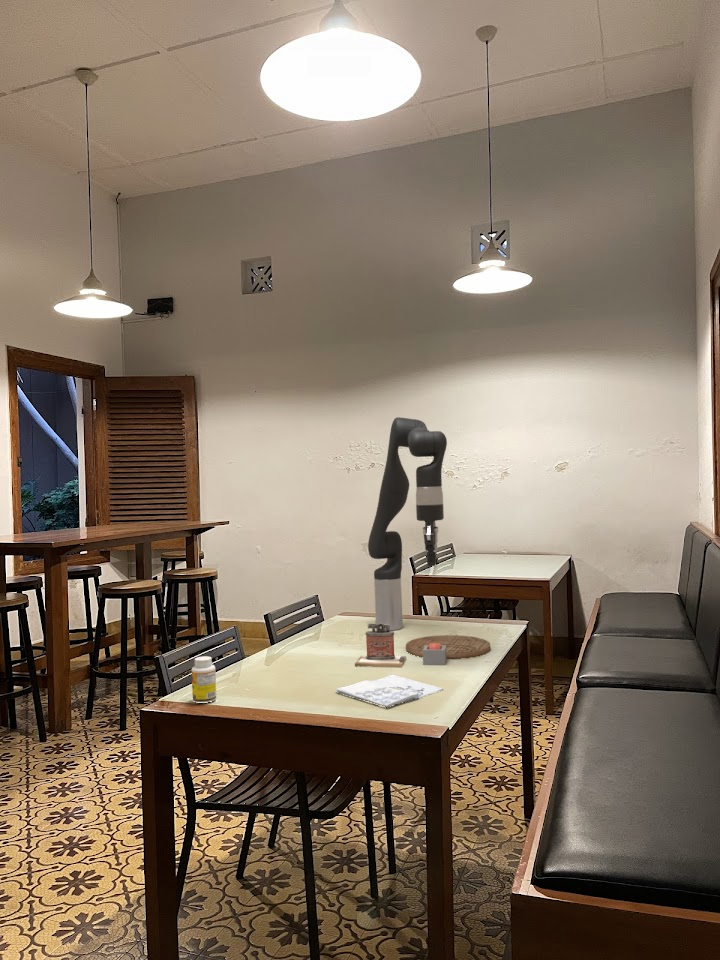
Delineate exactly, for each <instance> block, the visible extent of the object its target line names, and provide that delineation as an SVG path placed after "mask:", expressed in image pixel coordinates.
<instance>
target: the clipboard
mask: <svg viewBox="0 0 720 960" xmlns="http://www.w3.org/2000/svg"><path fill="white" fill-rule="evenodd" d="M366 656H367V655H360V656H359V658H358V659H357V660H356V661H355V663H354V667H357V666H360V667H362V666H373V667H375V668H377V667H379V668H402V667H403V665H405V662H406V660H407V656H405V655H395V659H393V660H367V659H366ZM373 667H372V668H373Z"/></svg>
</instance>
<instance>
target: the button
mask: <svg viewBox="0 0 720 960" xmlns="http://www.w3.org/2000/svg"><path fill="white" fill-rule="evenodd" d="M429 649H440V644H439V643H430V644H429Z"/></svg>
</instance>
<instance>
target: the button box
mask: <svg viewBox="0 0 720 960" xmlns="http://www.w3.org/2000/svg"><path fill="white" fill-rule="evenodd" d="M445 663H447V653H446V645H440V649H429V645H425V646H424V648H423V658H422V665H424V666H428V665H429V666H433V665H434V666H445V665H446V664H445Z"/></svg>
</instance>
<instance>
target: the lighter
mask: <svg viewBox="0 0 720 960" xmlns="http://www.w3.org/2000/svg"><path fill="white" fill-rule="evenodd" d="M376 628H378V629H376ZM385 628H386V630H385ZM389 628H390V624H383V623H382V622H380V623H379V624H376V622H375V623H372V622H370V623H367V629H371V630H368V631H366V632H365V637H366V638H365V639H366V655H365V656H366V659H367V660H393V659H395V656H396V655H395V637H394V635H395V630H389Z"/></svg>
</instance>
